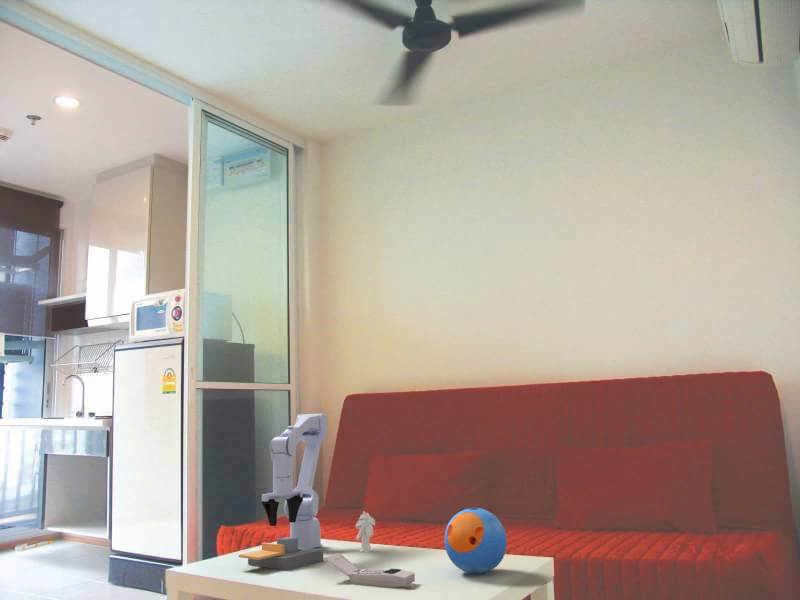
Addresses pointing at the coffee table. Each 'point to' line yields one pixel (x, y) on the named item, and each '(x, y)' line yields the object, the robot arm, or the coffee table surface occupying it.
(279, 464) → the robot arm
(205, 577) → the coffee table surface
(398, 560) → the coffee table surface
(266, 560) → the socket base
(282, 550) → the panel
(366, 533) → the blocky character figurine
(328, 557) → the mobile phone
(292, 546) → the grey rectangular block
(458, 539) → the treat dispenser ball
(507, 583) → the coffee table surface
